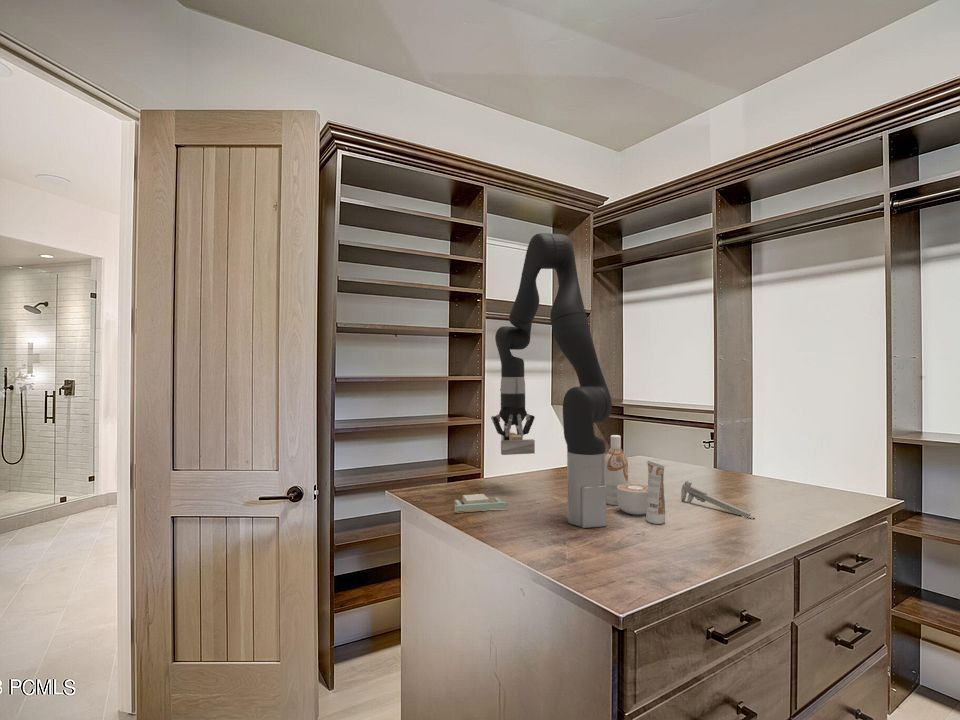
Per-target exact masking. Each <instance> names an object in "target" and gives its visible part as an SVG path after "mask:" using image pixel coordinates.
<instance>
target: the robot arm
mask: <svg viewBox="0 0 960 720" xmlns="http://www.w3.org/2000/svg"><path fill="white" fill-rule="evenodd" d="M524 257H525V258H524V262H523V267H522V272H521V278H520V282H519V287H518V291H517V295H516V297H515V300H514V303H513V305H512V307H511V310H510V312H509V316H508V321H509V323H510V324H511V325H512V326H506V325H505V326H500V327H499V328H498V329H497V330H496V332H495V336H494V337H495V344H496V348H497V352H498V357H499V360H500V365H501V366H500V367H501V369H500V371H501V372H500V373H501V375H500V376H501V378H500V388H499V389H500V390H499V391H500V411H499V413H497V414H496V415H492V416H491V417H490V418H491V421H492V423H493V425H494V428H495V429H496V432H497V434H498V435H499V436H501V435H503V437H504V440H509V433H510V431H511V428H512V426H515V430H516V434H518V435H520V436H522V440H524V438H523V437H524V436H525V435H528V434H529V433H530V430H531V428H532V426H533V423H534V420H535V415H532V414H529V413H528V412H527V410H526V382H525V360H524V359H523V358H521V357H519V356H518V357H517V356H514V355H513V354H512V352H511V350H512V351H513V350H515V351H517V350H518V351H519V350H521V351H522V350H525V349H526V348H527V347H528V346H530V345H529V344H530V343H531V333H532V325H533V321H534V319H535V316H536V315H537V312H538V309H539V308H540V307H539V306H540V295H539V291H538V286H537V277H538V275H539V273H540V271H541V270H554V271H555V273H556V276H557V283H558V288H557V293H556V296H555V298H554V300H553V301H554V302H553V303H552V307H551V309H550V319H549V320H550V324H551V328H552V333H553V337H554V340H555V343H556V344H557V346H558V348H559V349H560V351H561V352H562V354H563V355H564V356H565V358H566V359H567V360H568V361H569V362H570V364H571V366H572V367H573V369H574V371H575V374H576V377H577V380H578V383H579V386H573V387H571V388H570V389H567V391H566V393H565V394H564V396H563V402H562V422H563V423H562V424H563V435H564V436H563V437H564V441H565V444H566V450H567V451H566V452H567V453H566V457H567V458H566V461H567V462H566V464H567V465H566V466H567V468H566V472H567V475H566V476H567V477H566V480H567V481H566V484H567V485H566V491H567V493H566V494H567V496H566V498H567V500H566V502H567V503H566V505H567V507H566V510H567V512H566V513H567V523H569V524H571V525H573V526H577V527H580V528H583V529H586V528H599V527H601V528H602V527H607V504H606V475H605V464H606V458H605V456H606V453H607V452H606V441H605V440H603V439H602V438H599V437H598V436H596V434H595V430H594V424H599V423H604V422H606V421H607V420H608V419H609V418H610V416H611V413H612V408H613V404H612V398H611V397H612V396H611V393H610V391H609V387H608V384H607V382H606V379H605V377H604V374H603V371H602V369H601V367H600V366H601V365H600V362H599V358H598V356H597V352H596V347H595V345H594V341H593V339H592V338H593V337H592V334H591V328H590V323H589V320H588V316H587V312H586V309H585V305H584V302H583V297H582V293H581V292H582V291H581V288H580V283H579V278H578V271H577V265H576V257H575V251H574V246H573V243H572V241H571V239H570V237H569V236H567V235H566V234H561V233H550V232H549V233H547V232H545V233H544V232H543V233H542V232H540V233H536V234H534V235H533V236H532V237H531V239H530V241H529V243H528V245H527V249H526V253H525V256H524ZM501 420H502V421H503V422H504V423H503V427H502V426H501V424H500V422H501ZM524 420H525V421H526V422H525V423H524V427H523V421H524Z"/></svg>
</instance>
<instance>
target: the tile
mask: <svg viewBox="0 0 960 720" xmlns="http://www.w3.org/2000/svg"><path fill="white" fill-rule="evenodd" d="M463 502H464V503H465V504H478V503H490V499H489V497H487V496H486V495H485V493H479V494H478V493H476V494H463V495H462V503H463Z"/></svg>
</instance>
